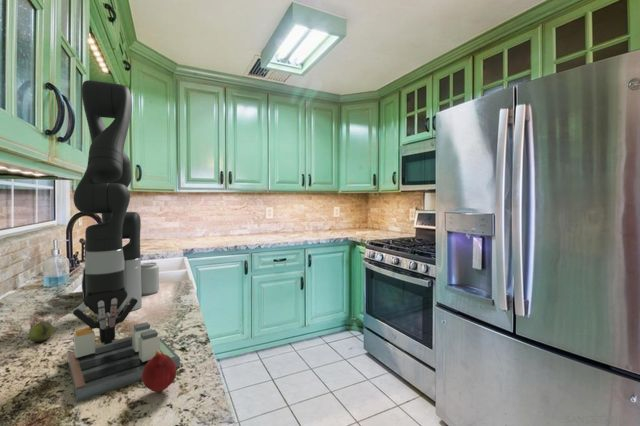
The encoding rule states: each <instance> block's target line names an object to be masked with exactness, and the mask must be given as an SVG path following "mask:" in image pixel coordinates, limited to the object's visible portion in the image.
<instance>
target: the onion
mask: <svg viewBox="0 0 640 426" xmlns="http://www.w3.org/2000/svg"><path fill="white" fill-rule="evenodd" d="M177 369H178V368H176V364H175V362H174V361H173V360H172V359H171V358H170V357H169V356H168V355H165V354H163V353H161V352H160V351H159V350H156V354H155V356H154V357H153V358H152V359H150V360H149V361H148V363H147V364H146V366H145V368H144V370H143V373H142V380H141V381H142V383H143V385H144V387H146V388H147V389H148V390H150V391H151V392H155V393H162V392H164V390H166V389H167V388H168V387H170V385H171V384H172V383H173V382H174V380H175V378H176V376H177Z"/></svg>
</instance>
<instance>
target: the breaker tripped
mask: <svg viewBox="0 0 640 426" xmlns="http://www.w3.org/2000/svg"><path fill="white" fill-rule="evenodd" d="M95 334H96V332H95V331H94V329H92V328H90V327H89V326H87V327H83V328H78V329H75V332H74V333H73V352H74V354H75V358H78V357H81V356H85V355H89V354H93V353H95V346H96V340H95V339H96V337H95V336H96V335H95Z"/></svg>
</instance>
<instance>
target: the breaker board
mask: <svg viewBox="0 0 640 426" xmlns="http://www.w3.org/2000/svg"><path fill="white" fill-rule="evenodd" d="M160 352H161V353H163V354H165V355H168V356H169V357H170V358H171V359H172V360H173V361H174V362H175V364H176V369H179V368H180V367H181V358H180V356H179V355H178V354H177V353H176V352H175V351H174V350H173V349H172V348H171V347H170V346H169V345H168V344H167V343H166V342H165V341H164V339H162V337H160ZM66 354H67V365H68V369H69V374H70V377H71V382H72V386H73V390H74V395H75V400H76V403H79V402H82V401H84V400H88V399H90V398H93V397H96V396H99V395H102V394H105V393H108V392H110V391H113V390H117V389H121V388H123V387H125V386H128V385H131V384H134V383H137V382H140V381H143V380H142V373H143V370H144V368H145V366H146V364H147V363H148V361H149V360H147V361H144V362H142V361H141V359H140V358H139V351H138V352H135V351H134V349H133V348H132V336H128V337H125V338H122V339H121V338H120V339H117V340H112V343H110V344H106V345H104V343H101V344H98V345H95V353H93V354H89V355H85V356H81V357H78V358H75V354H74V351H70V352H67V353H66ZM139 380H140V381H139ZM136 381H137V382H136ZM133 382H134V383H133ZM130 383H131V384H130Z"/></svg>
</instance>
